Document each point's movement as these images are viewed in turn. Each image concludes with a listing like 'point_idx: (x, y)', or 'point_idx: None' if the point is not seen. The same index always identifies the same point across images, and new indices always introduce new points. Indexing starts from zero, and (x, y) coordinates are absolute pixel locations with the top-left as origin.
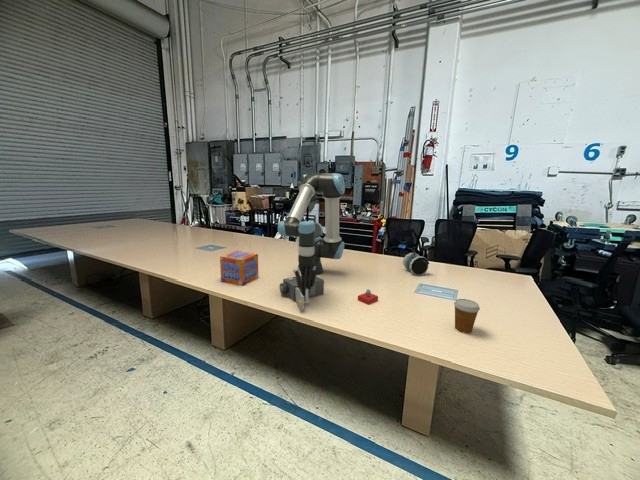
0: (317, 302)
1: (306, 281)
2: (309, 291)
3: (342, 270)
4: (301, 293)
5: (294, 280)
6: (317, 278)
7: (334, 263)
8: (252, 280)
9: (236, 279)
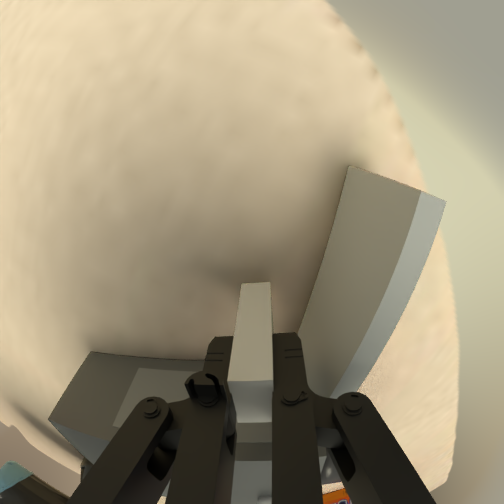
0: (153, 278)
1: (228, 491)
2: (208, 362)
3: (30, 427)
4: (374, 322)
5: (256, 493)
6: (89, 453)
7: (55, 456)
8: (337, 491)
9: None
